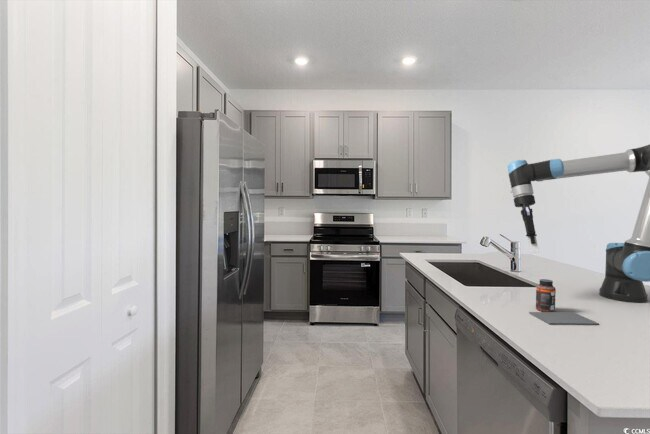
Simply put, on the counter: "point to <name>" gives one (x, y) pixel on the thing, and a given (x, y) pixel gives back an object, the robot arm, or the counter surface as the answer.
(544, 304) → the supplement bottle
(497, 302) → the counter surface
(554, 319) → the mat
